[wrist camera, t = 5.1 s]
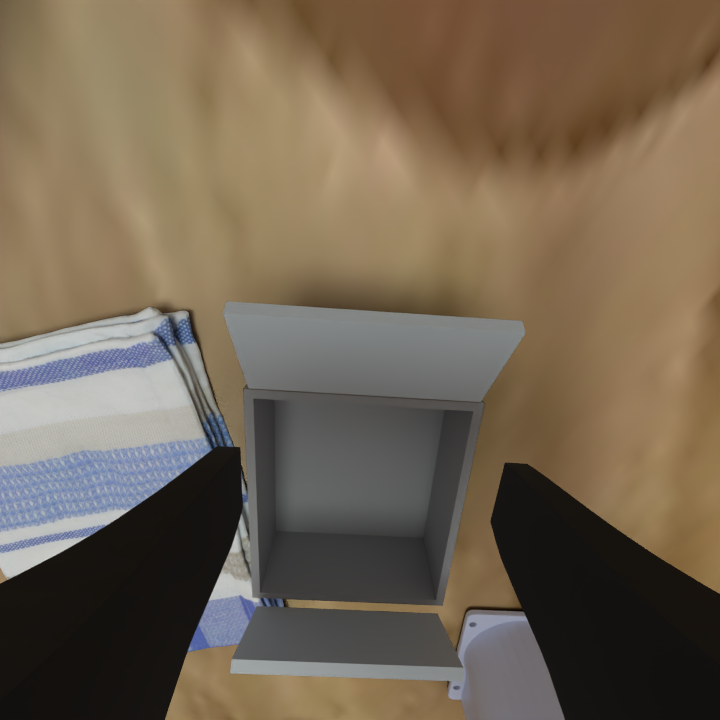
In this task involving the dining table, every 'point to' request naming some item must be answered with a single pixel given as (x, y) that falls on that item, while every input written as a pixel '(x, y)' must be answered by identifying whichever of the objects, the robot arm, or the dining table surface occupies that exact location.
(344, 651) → the far flap
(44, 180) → the dining table surface
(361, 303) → the dining table surface
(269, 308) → the near flap
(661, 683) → the robot arm
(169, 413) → the dish towel
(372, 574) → the carton
